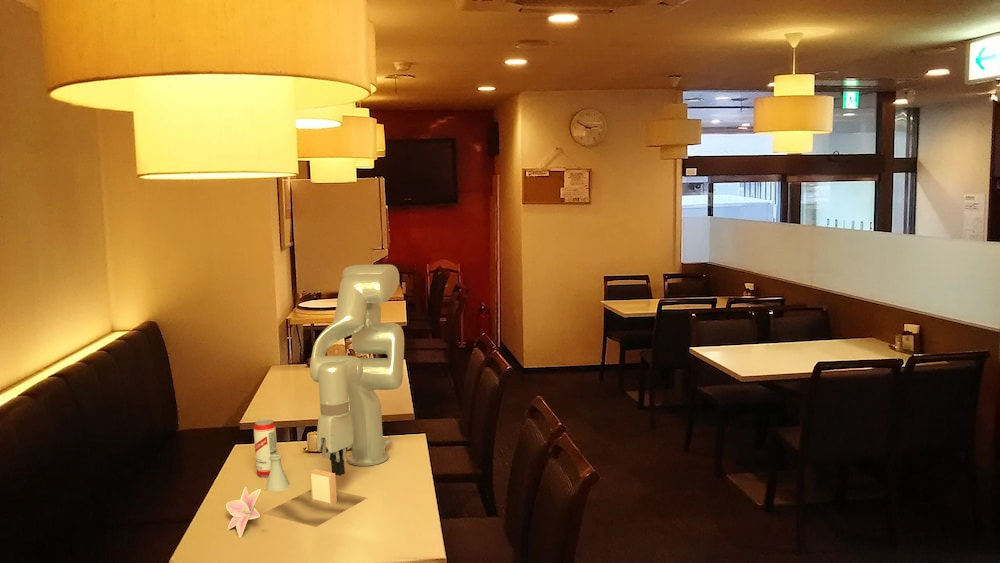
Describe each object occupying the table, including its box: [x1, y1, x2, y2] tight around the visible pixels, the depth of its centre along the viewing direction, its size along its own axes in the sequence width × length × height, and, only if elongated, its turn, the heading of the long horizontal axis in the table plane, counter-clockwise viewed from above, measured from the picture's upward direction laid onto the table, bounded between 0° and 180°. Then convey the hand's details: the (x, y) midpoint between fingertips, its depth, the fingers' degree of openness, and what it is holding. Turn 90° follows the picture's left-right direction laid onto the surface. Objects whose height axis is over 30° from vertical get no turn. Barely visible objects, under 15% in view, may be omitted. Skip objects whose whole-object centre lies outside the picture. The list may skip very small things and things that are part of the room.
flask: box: [264, 454, 291, 492], centre depth 228 cm, size 7×7×10 cm
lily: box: [225, 486, 262, 538], centre depth 206 cm, size 12×12×10 cm
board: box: [263, 489, 368, 528], centre depth 215 cm, size 20×18×1 cm
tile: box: [309, 468, 337, 505], centre depth 217 cm, size 2×7×8 cm, turn 60°
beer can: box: [253, 418, 279, 478], centre depth 241 cm, size 6×6×16 cm
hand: (338, 474), depth 222 cm, fingers closed
